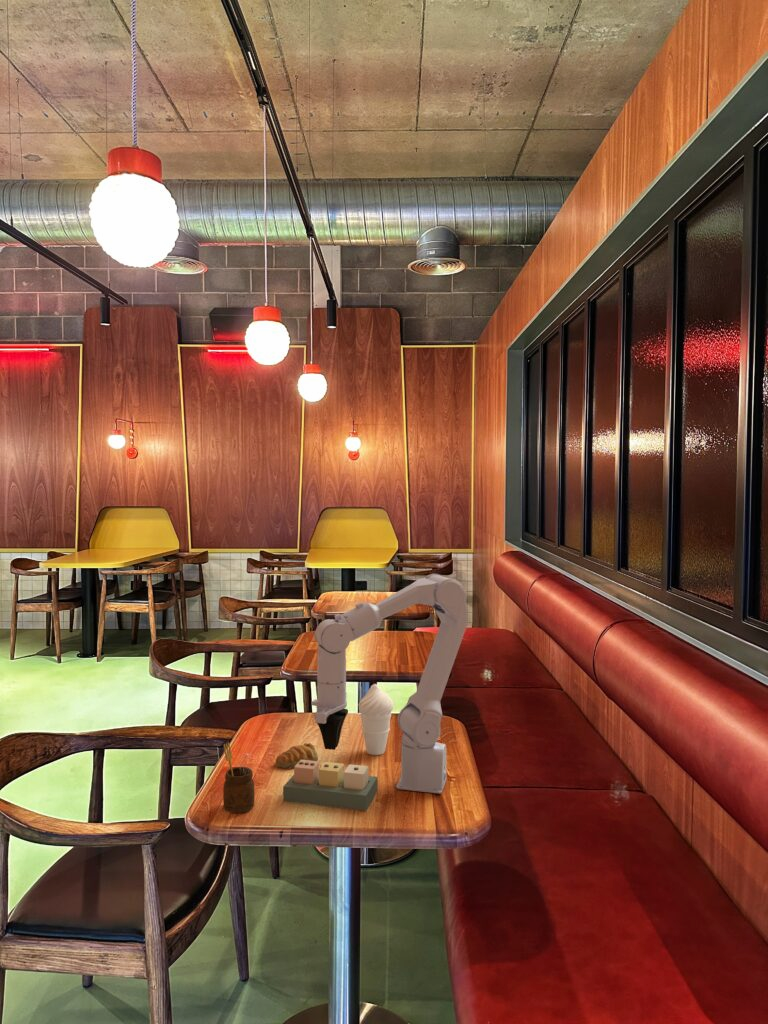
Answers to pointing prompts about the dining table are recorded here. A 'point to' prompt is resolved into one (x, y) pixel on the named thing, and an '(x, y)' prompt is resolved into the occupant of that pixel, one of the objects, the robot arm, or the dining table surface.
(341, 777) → the toy block
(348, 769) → the toy block
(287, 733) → the dining table surface
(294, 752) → the pastry
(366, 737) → the soft serve ice cream cone
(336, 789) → the toy block sorting board
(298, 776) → the toy block
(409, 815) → the dining table surface
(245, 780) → the utensil holder
